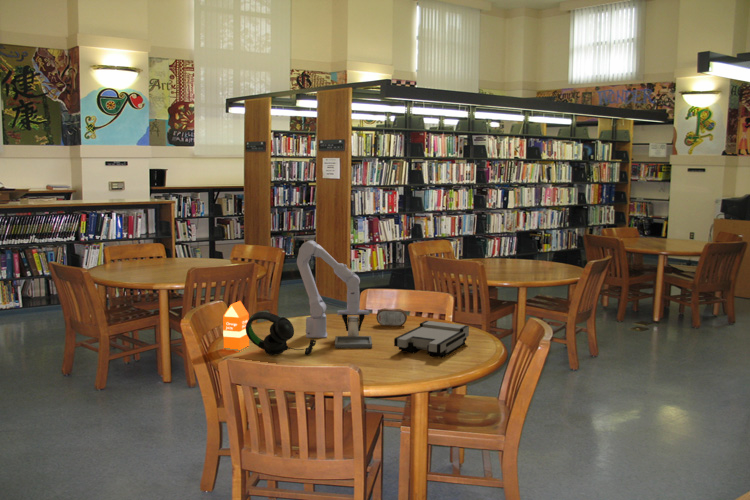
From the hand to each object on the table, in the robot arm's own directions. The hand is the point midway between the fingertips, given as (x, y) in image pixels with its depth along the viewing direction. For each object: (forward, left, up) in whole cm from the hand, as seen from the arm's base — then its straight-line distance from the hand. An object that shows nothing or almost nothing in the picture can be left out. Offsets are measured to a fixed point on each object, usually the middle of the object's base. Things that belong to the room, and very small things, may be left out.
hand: (353, 330), depth 305 cm
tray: (0, -13, -3) cm, 13 cm away
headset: (-31, -27, -3) cm, 41 cm away
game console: (+34, -21, -3) cm, 40 cm away
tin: (+19, +22, -3) cm, 29 cm away
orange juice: (-50, -19, -3) cm, 54 cm away
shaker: (0, 0, -3) cm, 3 cm away
